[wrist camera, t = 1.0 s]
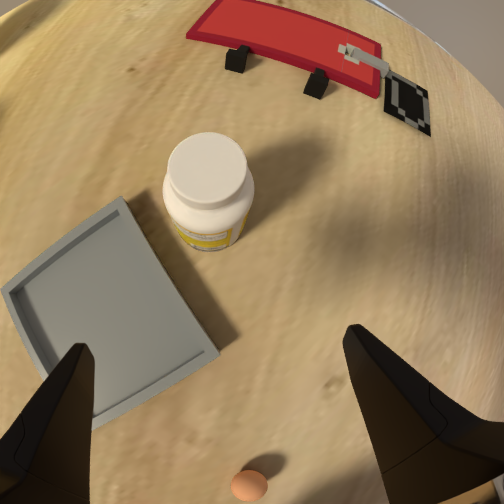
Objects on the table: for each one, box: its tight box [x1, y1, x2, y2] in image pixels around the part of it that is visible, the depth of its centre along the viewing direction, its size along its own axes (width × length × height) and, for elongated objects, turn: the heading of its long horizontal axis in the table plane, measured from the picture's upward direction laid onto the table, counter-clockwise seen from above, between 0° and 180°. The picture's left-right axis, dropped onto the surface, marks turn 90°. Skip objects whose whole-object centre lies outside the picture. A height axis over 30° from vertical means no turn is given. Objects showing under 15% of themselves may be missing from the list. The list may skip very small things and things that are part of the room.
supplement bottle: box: [163, 132, 254, 252], centre depth 19 cm, size 5×5×10 cm
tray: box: [0, 196, 220, 430], centre depth 20 cm, size 14×14×2 cm
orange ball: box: [231, 470, 268, 501], centre depth 19 cm, size 3×3×3 cm
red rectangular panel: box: [186, 0, 431, 137], centre depth 28 cm, size 30×3×15 cm
